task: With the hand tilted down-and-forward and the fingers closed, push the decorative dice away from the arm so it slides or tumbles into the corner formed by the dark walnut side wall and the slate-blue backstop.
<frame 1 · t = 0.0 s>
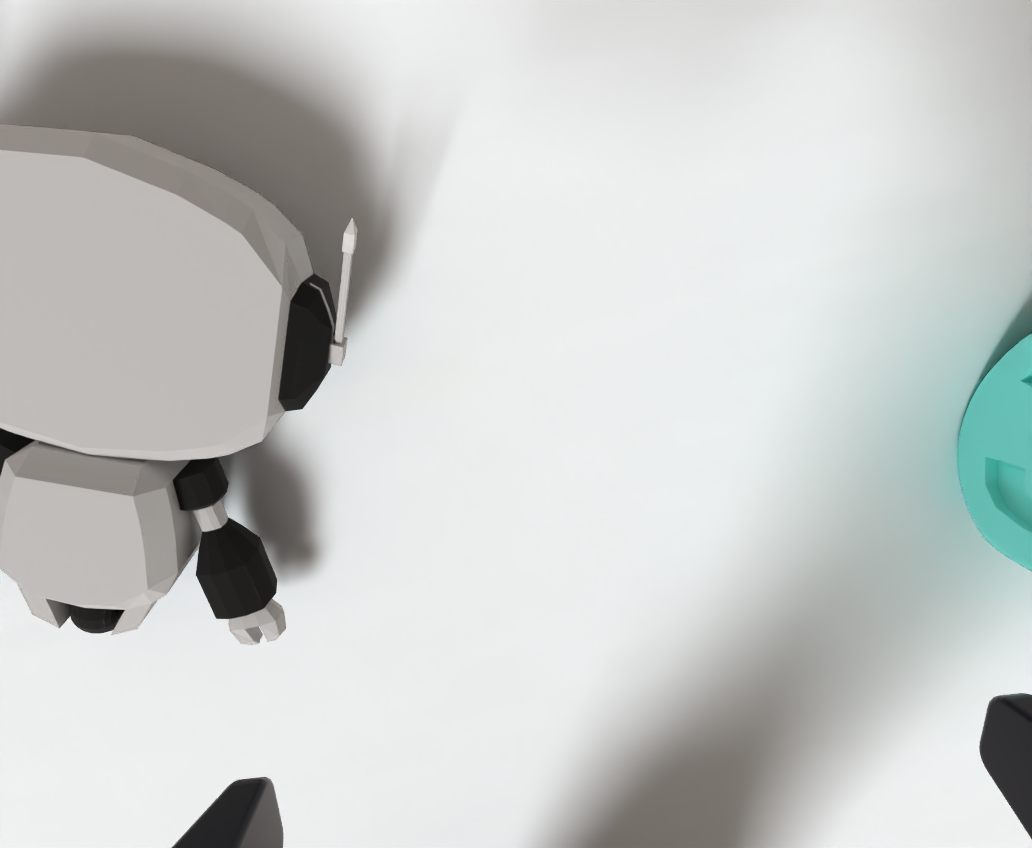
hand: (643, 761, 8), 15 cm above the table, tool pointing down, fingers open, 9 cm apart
robot toy: (151, 388, 21), on the table
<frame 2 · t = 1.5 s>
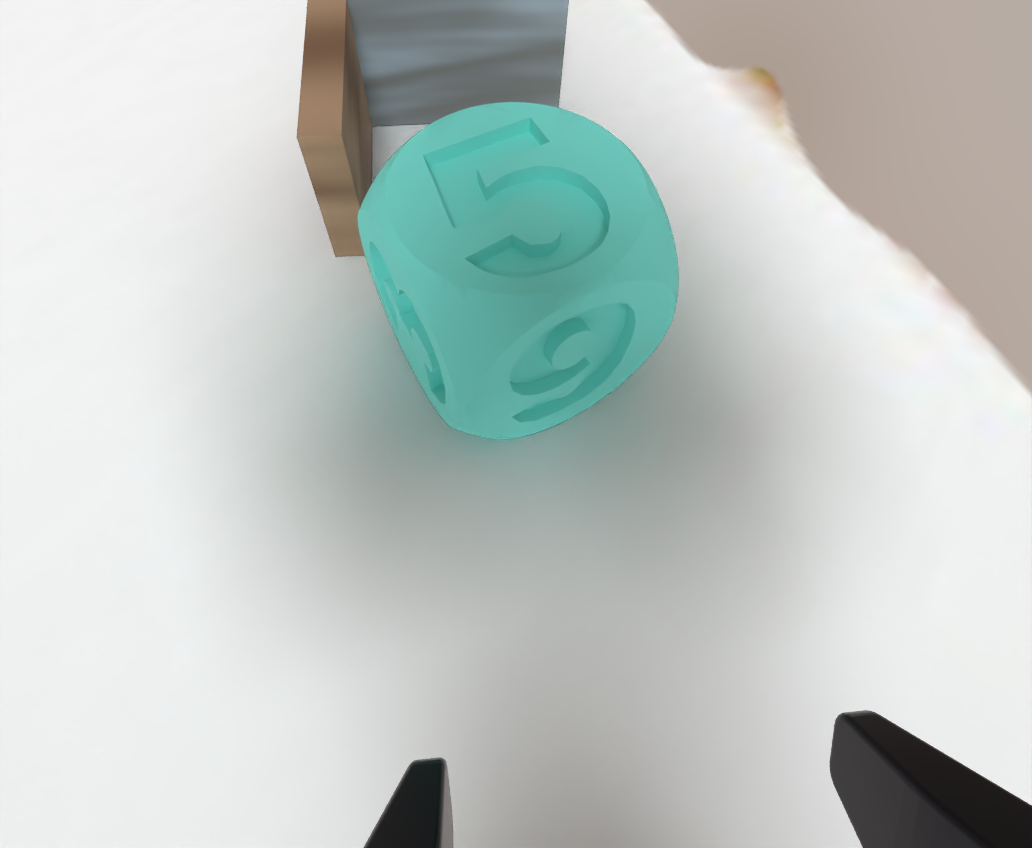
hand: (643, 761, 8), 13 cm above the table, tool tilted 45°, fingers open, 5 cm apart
decorative dice: (511, 348, 26), on the table
corner arena: (371, 126, 31), on the table
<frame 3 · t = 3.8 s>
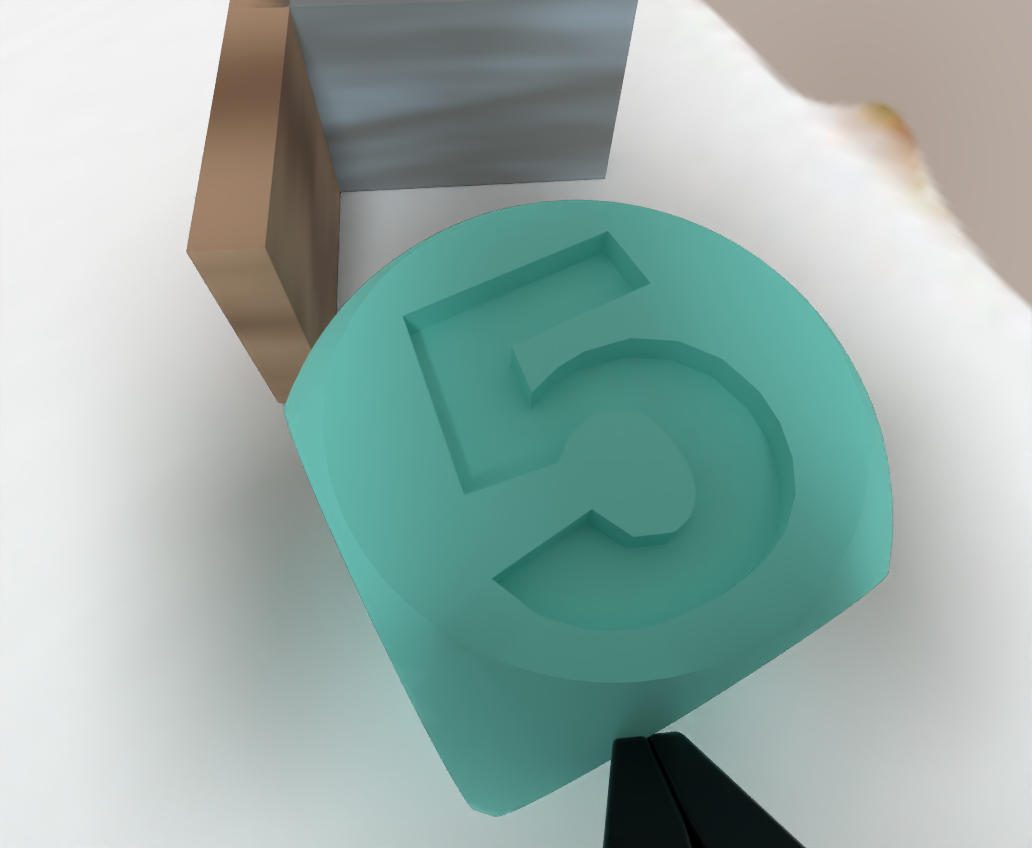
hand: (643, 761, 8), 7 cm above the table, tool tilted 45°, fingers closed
decorative dice: (551, 557, 16), on the table, touching gripper
corner arena: (340, 191, 22), on the table
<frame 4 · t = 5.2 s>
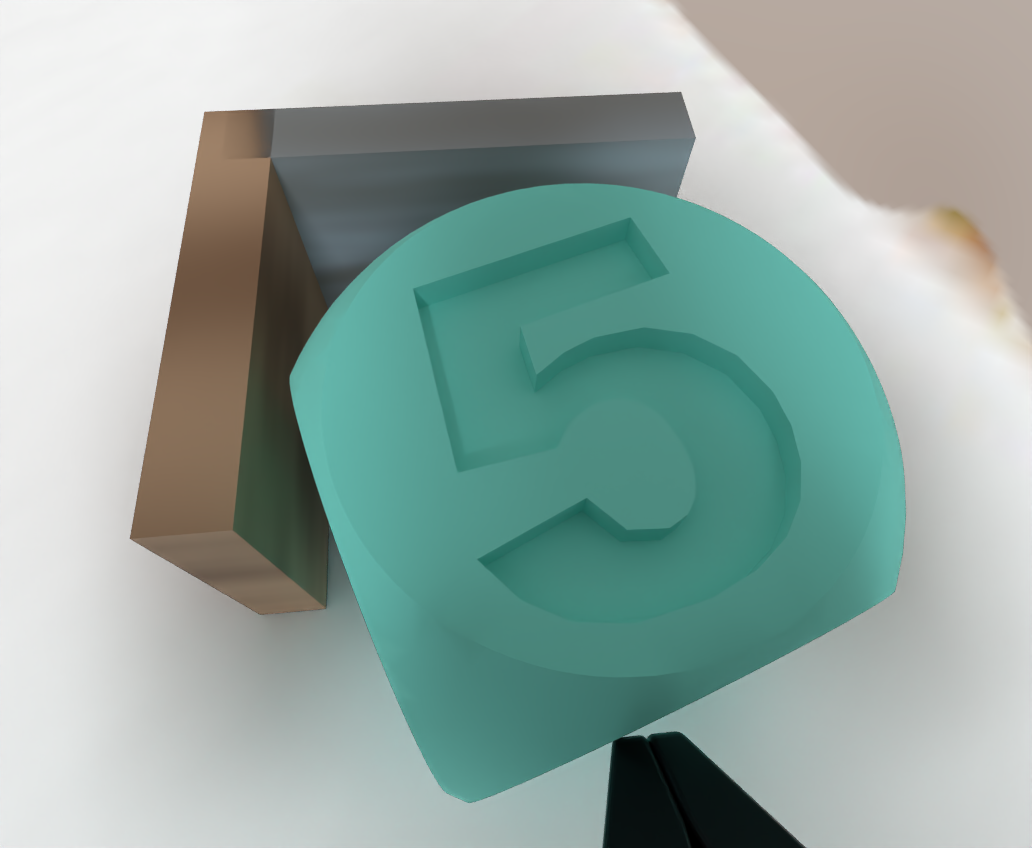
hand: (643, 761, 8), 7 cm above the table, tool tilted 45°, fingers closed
decorative dice: (554, 549, 16), on the table, touching gripper
corner arena: (335, 327, 19), on the table
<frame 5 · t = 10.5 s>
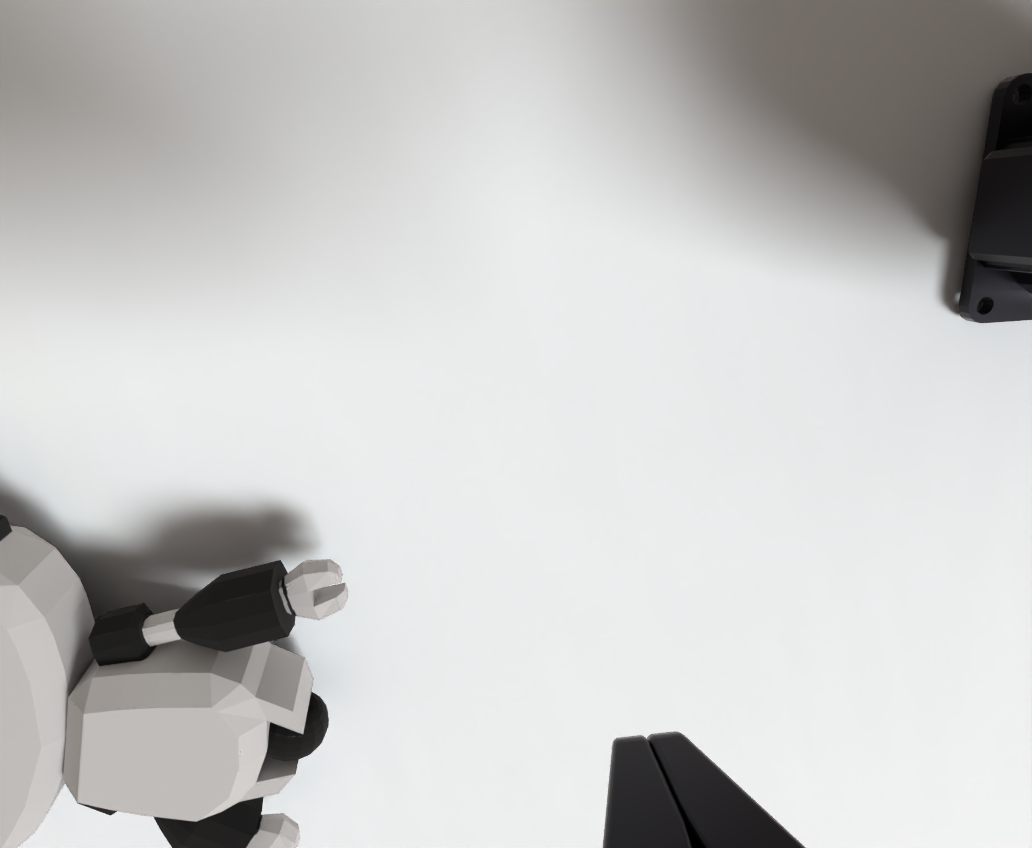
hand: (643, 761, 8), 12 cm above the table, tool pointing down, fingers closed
robot toy: (102, 644, 21), on the table
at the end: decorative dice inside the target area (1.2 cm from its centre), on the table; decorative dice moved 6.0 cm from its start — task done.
